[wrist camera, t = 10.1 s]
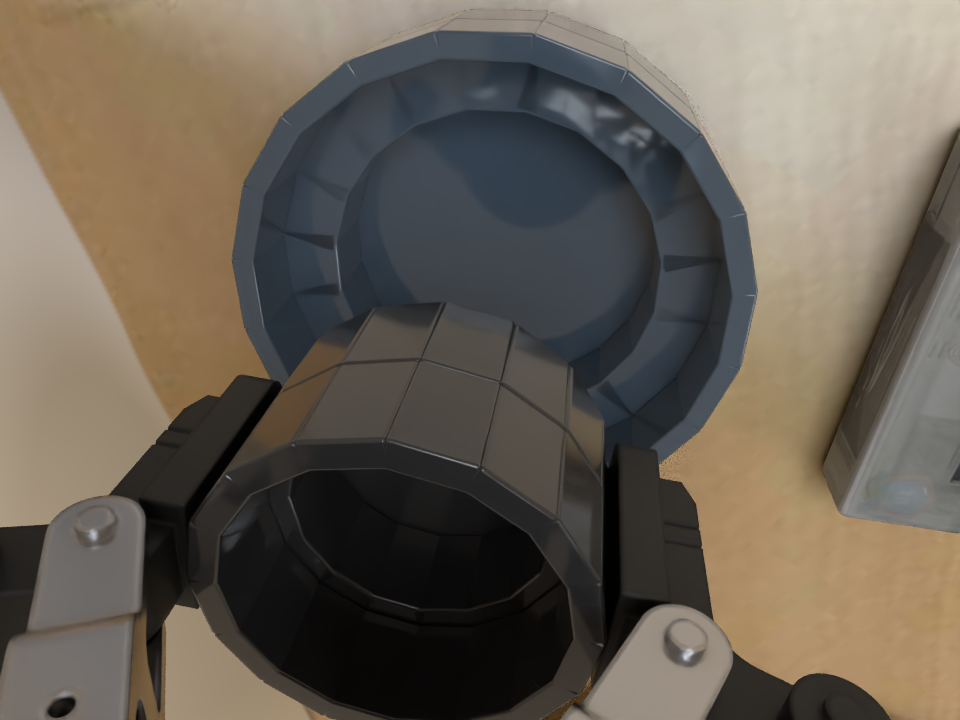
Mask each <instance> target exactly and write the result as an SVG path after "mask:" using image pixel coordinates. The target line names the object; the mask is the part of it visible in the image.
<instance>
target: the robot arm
mask: <svg viewBox="0 0 960 720" xmlns="http://www.w3.org/2000/svg"><path fill="white" fill-rule="evenodd" d="M281 388H282V385H281V383H280V382H279V381H275V380H269V379H264V378H258V377H253V376H247V375H239V376H237V377H236V378H235V379H234V381H233V382H232V383H231V384H230V385H229V387H228V388H227V389H226V390H225V392H224V393H223V394H222V395H221V396H220V397H215V396H210V395H207V396H205V397H204V398H202V399H200V400H198V401H197V402H195V403H193V404H191V405H190V406H188V407H186V408H184V409H183V410H182V411H181V413H180V414H179V415H178V416H177V417H176V418H175V419H174V421H173V422H172V423H171V424H170V425H169V427H168V430H165V431H164V432H163V433H162V434H161V436H160V437H159V438H158V439H157V440H156V444H155V445H152V446H151V447H150V448H149V449H148V451H147V452H146V453H145V454H144V455H143V456H142V457H141V459H140V460H139V461H138V462H137V463H136V464H135V466H134V467H133V468H132V469H131V470H130V471H129V472H128V473H127V475H126V476H125V477H124V478H123V479H122V480H121V481H120V483H119V484H118V485H117V486H116V487H115V488H114V490H113V491H112V492H111V493H110V494H109V495H107V496H98V497H93V498H89V499H86V500H83V501H80V502H77V503H75V504H73V505H71V506H69V507H68V508H66V509H65V510H63V511H62V512H60V513H59V514H58V515H57V516H56V517H55V518H54V519H53V520H52V521H51V523H50V524H48V525H34V526H17V527H1V528H0V720H165V670H166V669H165V666H166V628H165V622H164V621H165V620H166V618H167V616H168V615H169V613H170V611H171V610H172V609H173V607H174V605H175V604H176V605H181V606H186V607H191V608H196V609H198V608H199V603H198V601H197V599H196V597H195V595H194V593H193V591H192V589H191V587H190V585H189V583H188V578H187V556H188V526H189V522H190V518H191V516H192V515H193V513H194V512H195V511H196V509H197V508H198V506H199V505H200V503H201V502H202V501H203V499H204V498H205V496H206V495H207V494H208V492H209V491H210V489H211V488H212V486H213V485H214V484H215V482H216V481H217V479H218V478H219V476H220V475H221V474H222V472H223V471H224V469H225V468H226V467H227V465H228V464H229V462H230V461H231V459H232V458H233V457H234V455H235V454H236V452H237V451H238V449H239V448H240V447H241V445H242V444H243V442H244V441H245V440H246V438H247V437H248V435H249V434H250V432H251V431H252V430H253V428H254V427H255V425H256V424H257V423H258V421H259V420H260V418H261V417H262V415H263V414H264V413H265V411H266V410H267V408H268V407H269V405H270V404H271V403H272V401H273V400H274V398H275V397H276V396H277V394H278V393H279V391H280V390H281ZM701 546H702V542H701V535H700V531H699V522H698V515H697V508H696V503H695V502H694V500H693V499H692V497H691V496H690V494H689V493H688V491H687V490H686V488H685V487H684V485H683V484H682V482H677V481H671V480H666V479H660V475H659V464H658V454H657V451H656V450H655V449H649V448H644V447H638V446H632V445H627V444H621V443H616V445H615V447H614V450H613V453H612V457H611V461H610V465H609V468H608V641H607V646H606V648H605V650H604V652H603V654H602V655H601V657H600V659H599V661H598V663H597V665H596V666H595V668H594V670H593V672H592V674H591V691H590V693H589V694H588V696H587V697H586V698H585V700H584V701H583V702H582V703H581V704H580V705H579V704H578V703H574V704H572V705H571V706H570V707H569V708H568V710H567V711H566V712H565V713H564V715H563V716H562V717H561V719H560V720H890V718H889V716H888V715H887V713H886V712H885V710H884V709H883V708H882V707H881V706H880V704H879V703H878V702H877V701H876V700H875V699H874V698H873V697H872V696H870V695H869V694H868V693H867V692H866V691H864V690H863V689H861V688H860V687H858V686H857V685H855V684H853V683H852V682H850V681H847V680H845V679H843V678H840V677H837V676H834V675H829V674H820V673H816V674H809V675H807V676H804V677H802V678H801V679H799V680H798V681H797V682H796V683H795V684H794V686H793V685H791V684H789V683H787V682H785V681H783V680H781V679H779V678H777V677H774V676H772V675H770V674H768V673H766V672H764V671H762V670H760V669H758V668H756V667H754V666H753V665H751V664H749V663H748V662H746V661H745V660H743V659H742V658H741V657H740V656H738V655H737V654H736V653H735V652H734V651H733V650H732V647H731V644H730V642H729V640H728V638H727V636H726V635H725V633H724V632H723V630H722V629H721V628H720V627H719V626H718V625H717V624H716V623H715V622H714V620H713V616H712V609H711V602H710V595H709V589H708V582H707V575H706V569H705V562H704V555H703V549H701Z"/></svg>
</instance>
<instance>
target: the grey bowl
mask: <svg viewBox="0 0 960 720" xmlns="http://www.w3.org/2000/svg"><path fill="white" fill-rule="evenodd" d="M232 257H233V258H232V263H233V269H234V274H235V280H236V285H237V290H238V296H239V301H240V307H241V312H242V318H243V323H244V328H246V329H245V330H246V332H247V334H248V336H249V338H250V340H251V342H252V344H253V346H254V348H255V350H256V352H257V354H258V356H259V357H260V359H261V361H262V363H263V365H264V367H265V369H266V371H267V373H268V375H269V377H270V379H271V380H275V381H279V382H280V383H281V385H282V387H283V386H284V384H285V383H286V381H287V380H288V378H289V377H290V376H291V374H292V373H293V371H294V370H295V369H296V367H297V366H298V365H299V363H300V362H301V360H302V359H303V358H304V356H305V355H306V353H307V352H308V351H309V349H310V348H311V347H312V345H313V344H314V342H315V341H316V340H317V339H318V338H320V336H321V335H322V334H323V333H324V332H326V331H328V330H330V329H332V328H334V327H336V326H338V325H340V324H342V323H344V322H346V321H348V320H350V319H352V318H354V317H356V316H358V315H360V314H361V313H363V312H365V311H367V310H369V309H371V308H376V307H378V306H389V305H403V304H417V303H431V302H444V303H445V302H450V303H453V304H457V305H460V306H463V307H467V308H470V309H474V310H477V311H481V312H484V313H487V314H491V315H494V316H498V317H501V318H505V319H508V320H511V321H514V324H515V325H519V326H520V327H522V328H523V329H524V330H526V331H527V332H528V333H530V334H531V335H532V336H534V337H535V338H537V339H538V340H539V341H541V342H542V343H543V344H545V345H546V346H547V347H549V348H550V349H551V350H553V351H554V352H556V353H557V354H558V355H560V356H561V357H562V358H564V359H565V360H566V361H568V363H569V365H570V366H572V367H573V368H574V369H575V371H576V373H577V374H578V376H579V378H580V379H581V381H582V383H583V384H584V386H585V388H586V389H587V391H588V393H589V394H590V396H591V398H592V399H593V401H594V402H595V404H596V406H597V407H598V409H599V411H600V412H601V414H602V418H603V420H604V422H605V433H606V445H607V457H608V468H609V465H610V461H611V457H612V453H613V450H614V447H615V445H616V443H621V444H627V445H632V446H638V447H644V448H649V449H655V450H656V451H657V454H658V464H660V463H661V462H662V461H664V460H665V459H666V458H667V457H669V456H670V455H671V454H672V453H673V452H675V451H676V450H677V449H678V448H680V447H681V446H682V445H683V444H685V443H686V442H687V441H688V440H689V439H691V438H692V437H693V436H694V435H696V434H697V433H698V432H699V431H700V430H701V429H702V428H703V426H704V425H705V423H706V422H707V420H708V419H709V417H710V416H711V414H712V412H713V411H714V409H715V408H716V406H717V405H718V403H719V401H720V400H721V398H722V397H723V395H724V394H725V392H726V391H727V389H728V387H729V386H730V384H731V383H732V381H733V380H734V378H735V376H736V375H737V373H738V372H739V370H740V367H741V366H742V361H743V357H744V353H745V348H746V344H747V339H748V335H749V330H750V326H751V321H752V317H753V312H754V308H755V303H756V299H757V292H758V290H757V283H756V276H755V269H754V262H753V255H752V248H751V241H750V235H749V228H748V221H747V214H746V211H745V209H744V206H743V204H742V202H741V200H740V198H739V196H738V193H737V191H736V189H735V187H734V185H733V183H732V181H731V179H730V177H729V174H728V172H727V170H726V168H725V166H724V164H723V162H722V160H721V158H720V156H719V154H718V152H717V150H716V148H715V147H714V145H713V143H712V141H711V139H710V138H709V136H708V134H707V132H706V130H705V128H704V127H703V125H702V123H701V121H700V119H699V118H698V116H697V114H696V112H695V110H694V109H693V107H692V105H691V103H690V101H689V100H688V98H687V96H686V94H685V93H683V91H682V90H681V89H680V88H679V87H678V86H677V85H676V84H674V83H673V82H672V81H671V80H670V79H669V78H668V77H666V76H665V75H664V74H663V73H662V72H661V71H659V70H658V69H657V68H656V67H655V66H654V65H653V64H651V63H650V62H649V61H648V60H647V59H646V58H645V57H643V56H642V55H641V54H640V53H639V52H638V51H636V50H635V49H634V48H633V47H632V46H631V45H630V44H628V43H627V42H626V41H624V42H623V40H622V39H620V38H617V37H615V36H612V35H610V34H607V33H605V32H602V31H599V30H597V29H594V28H592V27H589V26H586V25H584V24H581V23H579V22H576V21H574V20H571V19H568V18H566V17H563V16H561V15H558V14H555V13H553V12H549V13H548V11H534V10H488V9H470V10H468V11H466V10H465V11H462V12H459V13H456V14H453V15H450V16H447V17H444V18H441V19H438V20H435V21H433V22H430V23H427V24H424V25H421V26H418V27H415V28H412V29H409V30H406V31H403V32H400V33H398V34H396V35H394V36H392V37H390V38H389V39H387V40H385V41H383V42H381V43H379V44H378V45H375V46H373V47H372V48H370V49H368V50H366V51H364V52H362V53H360V54H359V55H357V56H355V57H353V58H351V59H349V60H348V61H346V62H344V63H343V64H342V65H341V66H340V67H338V68H337V69H336V70H335V71H333V72H332V73H331V74H330V75H329V76H327V77H326V78H325V79H324V80H323V81H321V82H320V83H319V84H318V85H317V86H315V87H314V88H313V89H312V90H311V91H309V92H308V93H307V94H306V95H304V96H303V97H302V98H301V99H300V100H298V101H297V102H296V103H295V104H294V105H292V106H291V107H290V108H289V109H288V110H286V111H285V112H284V113H283V115H282V116H280V118H279V120H278V122H277V123H276V125H275V127H274V129H273V131H272V132H271V134H270V136H269V138H268V139H267V141H266V143H265V145H264V147H263V148H262V150H261V152H260V154H259V156H258V157H257V159H256V161H255V163H254V165H253V166H252V168H251V170H250V172H249V174H248V175H247V177H246V179H245V181H244V185H243V187H242V194H241V201H240V207H239V214H238V220H237V227H236V234H235V240H234V247H233V254H232Z"/></svg>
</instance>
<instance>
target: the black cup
mask: <svg viewBox="0 0 960 720" xmlns="http://www.w3.org/2000/svg"><path fill="white" fill-rule="evenodd" d="M187 578H188V583H189V585H190V587H191V589H192V591H193V593H194V595H195V597H196V599H197V601H198V603H199V606H200V608H201V609H202V612H203V614H204V616H205V618H206V620H207V622H208V624H209V626H210V628H211V630H212V632H213V633H215V636H216V637H217V638H218V639H219V640H220V641H221V642H222V643H223V644H224V645H225V646H226V647H227V648H228V649H229V650H230V651H231V652H232V653H233V654H234V655H235V656H236V657H237V658H238V659H239V660H240V661H241V662H242V663H243V664H244V665H245V666H246V667H248V668H249V669H250V670H251V671H252V672H253V673H254V674H255V675H256V676H257V677H258V678H259V679H261V680H263V682H264V683H266V684H268V685H269V686H271V687H273V688H275V689H276V690H278V691H280V692H282V693H284V694H285V695H287V696H289V697H291V698H292V699H294V700H296V701H298V702H299V703H301V704H303V705H305V706H306V707H308V708H310V709H312V710H314V711H315V712H317V713H319V714H321V715H325V716H326V717H328V718H331V719H335V720H541V719H543V718H544V717H546V716H548V715H549V714H551V713H552V712H554V711H555V710H557V709H559V708H560V707H562V706H563V705H565V704H566V703H568V702H569V701H571V700H573V699H574V698H576V697H577V696H578V695H579V693H581V692H582V690H583V689H584V687H585V685H586V683H587V681H588V679H589V678H590V676H591V674H592V672H593V670H594V668H595V666H596V665H597V663H598V661H599V659H600V657H601V655H602V654H603V652H604V650H605V648H606V646H607V641H608V457H607V445H606V433H605V422H604V420H603V418H602V414H601V412H600V411H599V409H598V407H597V406H596V404H595V402H594V401H593V399H592V398H591V396H590V394H589V393H588V391H587V389H586V388H585V386H584V384H583V383H582V381H581V379H580V378H579V376H578V374H577V373H576V371H575V369H574V368H573V367H572V366H570V365H569V363H568V361H566V360H565V359H564V358H562V357H561V356H560V355H558V354H557V353H556V352H554V351H553V350H551V349H550V348H549V347H547V346H546V345H545V344H543V343H542V342H541V341H539V340H538V339H537V338H535V337H534V336H532V335H531V334H530V333H528V332H527V331H526V330H524V329H523V328H522V327H520V326H519V325H515V324H514V321H511V320H508V319H505V318H501V317H498V316H494V315H491V314H487V313H484V312H481V311H477V310H474V309H470V308H467V307H463V306H460V305H457V304H453V303H450V302H445V303H444V302H431V303H417V304H403V305H389V306H378V307H376V308H371V309H369V310H367V311H365V312H363V313H361V314H360V315H358V316H356V317H354V318H352V319H350V320H348V321H346V322H344V323H342V324H340V325H338V326H336V327H334V328H332V329H330V330H328V331H326V332H324V333H323V334H322V335H321V336H320V338H318V339H317V340H316V341H315V342H314V344H313V345H312V347H311V348H310V349H309V351H308V352H307V353H306V355H305V356H304V358H303V359H302V360H301V362H300V363H299V365H298V366H297V367H296V369H295V370H294V371H293V373H292V374H291V376H290V377H289V378H288V380H287V381H286V383H285V384H284V386H283V387H282V388H281V390H280V391H279V393H278V394H277V396H276V397H275V398H274V400H273V401H272V403H271V404H270V405H269V407H268V408H267V410H266V411H265V413H264V414H263V415H262V417H261V418H260V420H259V421H258V423H257V424H256V425H255V427H254V428H253V430H252V431H251V432H250V434H249V435H248V437H247V438H246V440H245V441H244V442H243V444H242V445H241V447H240V448H239V449H238V451H237V452H236V454H235V455H234V457H233V458H232V459H231V461H230V462H229V464H228V465H227V467H226V468H225V469H224V471H223V472H222V474H221V475H220V476H219V478H218V479H217V481H216V482H215V484H214V485H213V486H212V488H211V489H210V491H209V492H208V494H207V495H206V496H205V498H204V499H203V501H202V502H201V503H200V505H199V506H198V508H197V509H196V511H195V512H194V513H193V515H192V516H191V518H190V522H189V526H188V556H187Z"/></svg>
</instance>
